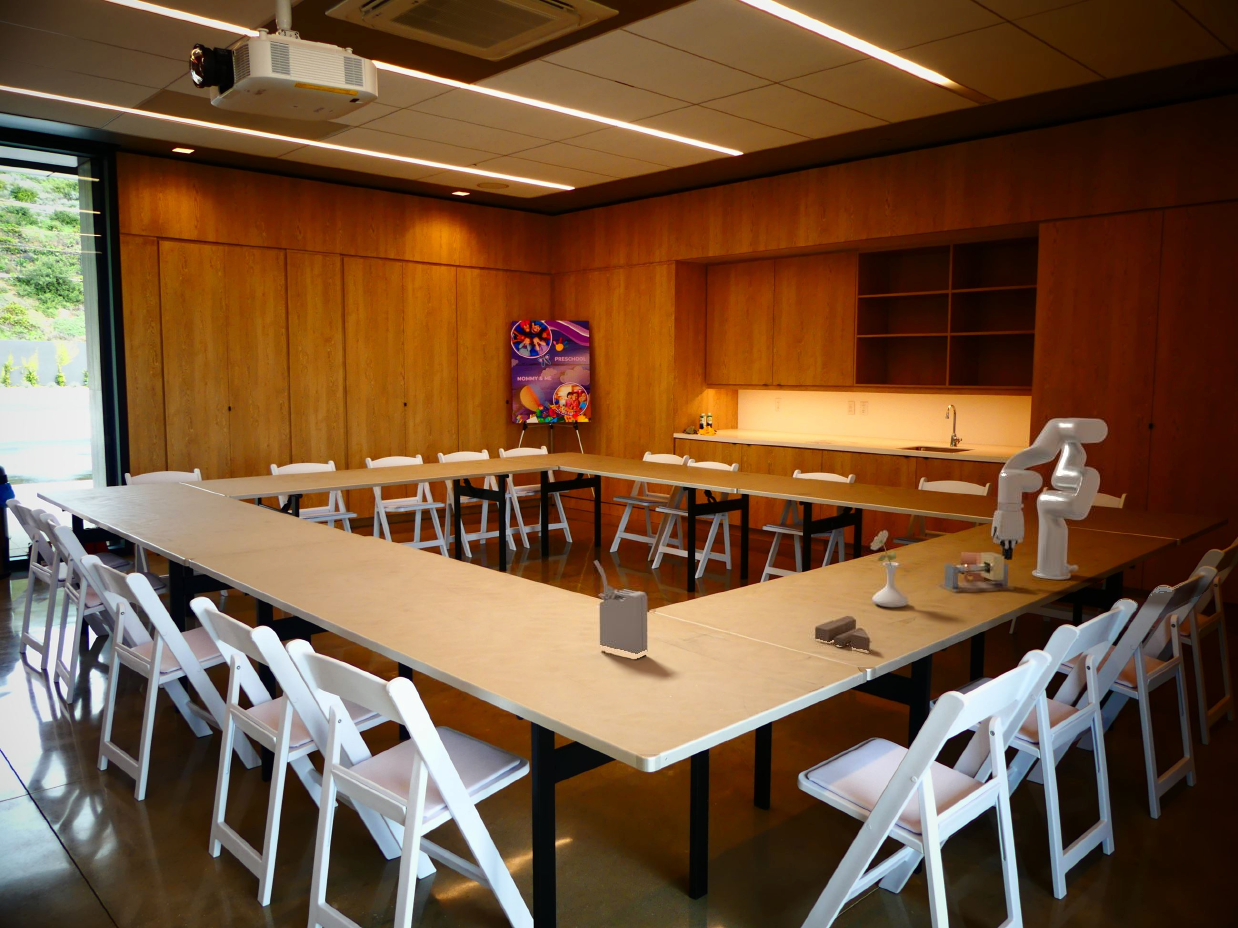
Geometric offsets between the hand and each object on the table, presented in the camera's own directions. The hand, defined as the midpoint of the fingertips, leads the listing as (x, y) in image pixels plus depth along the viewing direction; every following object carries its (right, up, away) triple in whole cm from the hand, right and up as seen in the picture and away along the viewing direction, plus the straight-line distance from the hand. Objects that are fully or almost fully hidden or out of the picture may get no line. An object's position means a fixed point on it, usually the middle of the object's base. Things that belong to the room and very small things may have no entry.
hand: (1007, 558), depth 306 cm
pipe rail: (-11, -10, -1) cm, 15 cm away
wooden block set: (-69, -17, -60) cm, 93 cm away
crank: (-6, -9, +16) cm, 19 cm away
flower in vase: (-49, -13, -23) cm, 56 cm away
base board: (-11, -10, -1) cm, 15 cm away
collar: (-6, -6, 0) cm, 8 cm away
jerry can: (-136, -18, -69) cm, 153 cm away
